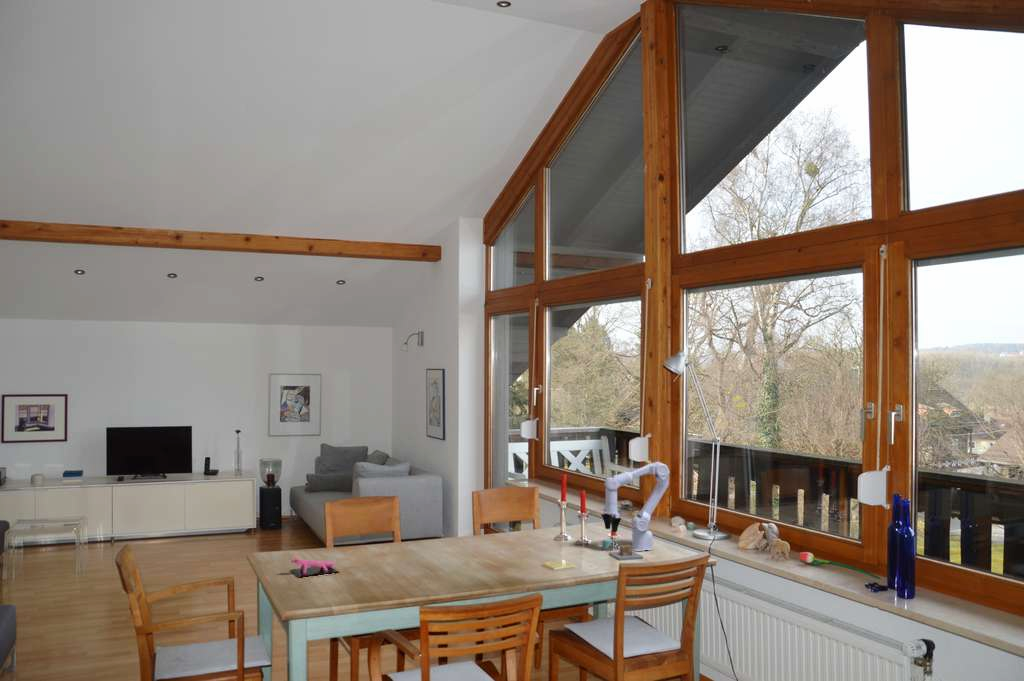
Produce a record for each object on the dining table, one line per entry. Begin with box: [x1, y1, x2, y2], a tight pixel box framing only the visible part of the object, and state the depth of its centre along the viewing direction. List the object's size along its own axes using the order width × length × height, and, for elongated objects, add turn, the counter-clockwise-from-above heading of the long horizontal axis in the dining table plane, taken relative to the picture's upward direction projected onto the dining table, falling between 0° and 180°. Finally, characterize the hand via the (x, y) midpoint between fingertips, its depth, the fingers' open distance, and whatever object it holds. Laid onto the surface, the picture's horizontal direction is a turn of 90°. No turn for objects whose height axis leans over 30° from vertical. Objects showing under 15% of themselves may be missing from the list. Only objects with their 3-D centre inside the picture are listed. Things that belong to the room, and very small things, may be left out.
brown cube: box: [618, 544, 633, 556], centre depth 389 cm, size 4×4×4 cm
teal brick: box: [601, 538, 616, 550], centre depth 406 cm, size 4×4×4 cm
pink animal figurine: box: [289, 557, 340, 579], centre depth 357 cm, size 15×20×7 cm
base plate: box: [608, 550, 644, 561], centre depth 389 cm, size 12×12×1 cm
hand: (611, 530), depth 403 cm, fingers open, 7 cm apart
